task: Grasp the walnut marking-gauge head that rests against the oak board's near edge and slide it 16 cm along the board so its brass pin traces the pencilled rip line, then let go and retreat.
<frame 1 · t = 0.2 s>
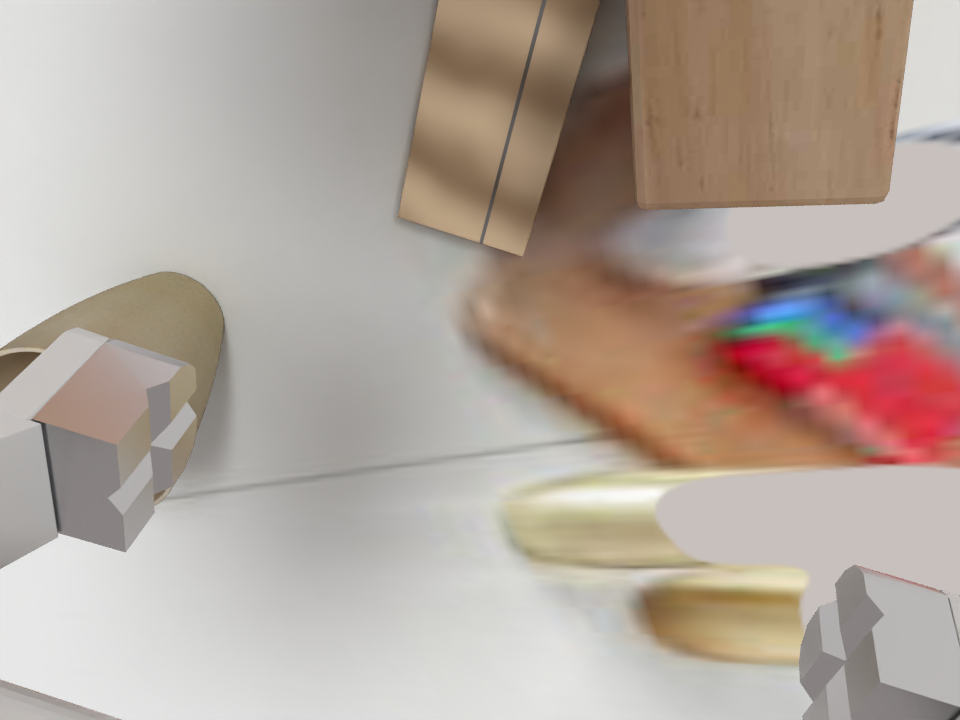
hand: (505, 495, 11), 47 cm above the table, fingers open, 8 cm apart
plant pot: (184, 310, 74), on the table
board: (507, 58, 56), on the table
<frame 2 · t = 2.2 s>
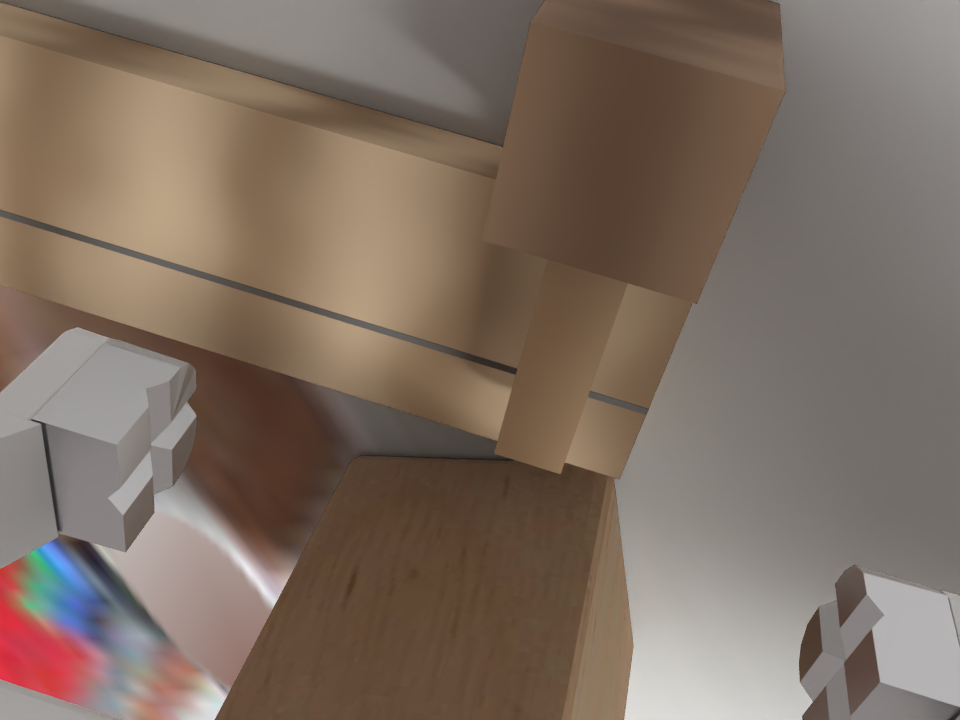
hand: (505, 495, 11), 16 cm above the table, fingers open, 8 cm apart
wooden block: (499, 546, 36), on the table
gauge: (647, 75, 23), on the table
board: (302, 225, 29), on the table
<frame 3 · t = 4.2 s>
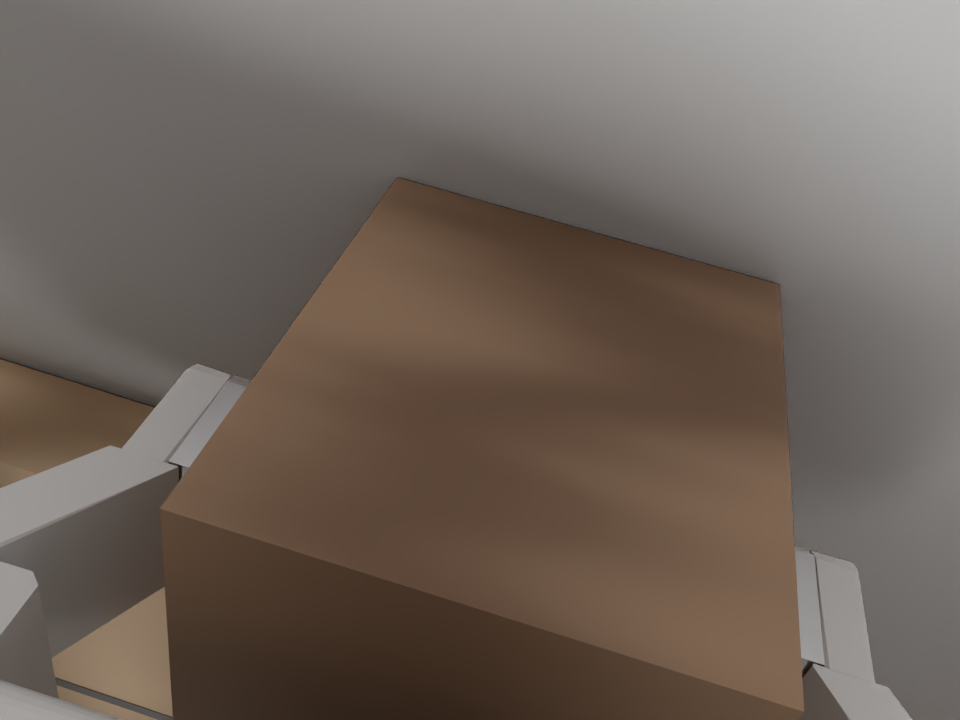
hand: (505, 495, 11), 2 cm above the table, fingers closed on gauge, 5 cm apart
gauge: (541, 379, 13), on the table, touching gripper
board: (45, 534, 18), on the table
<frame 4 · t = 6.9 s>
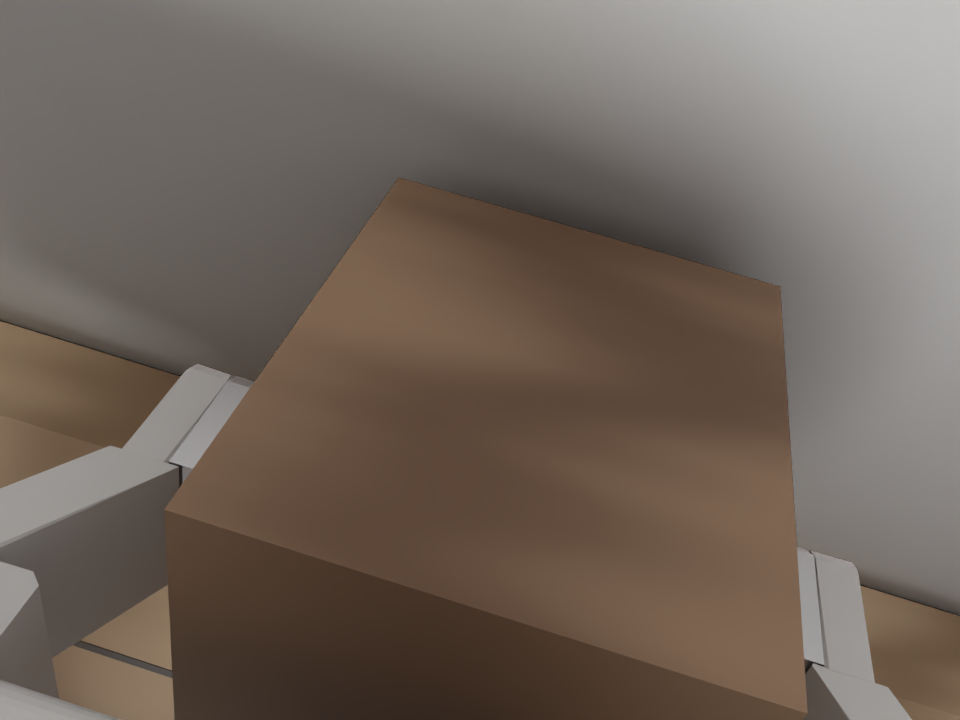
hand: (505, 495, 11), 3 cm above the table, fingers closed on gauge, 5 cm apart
gauge: (541, 379, 13), point 1 cm above the table, touching gripper
board: (466, 630, 18), on the table
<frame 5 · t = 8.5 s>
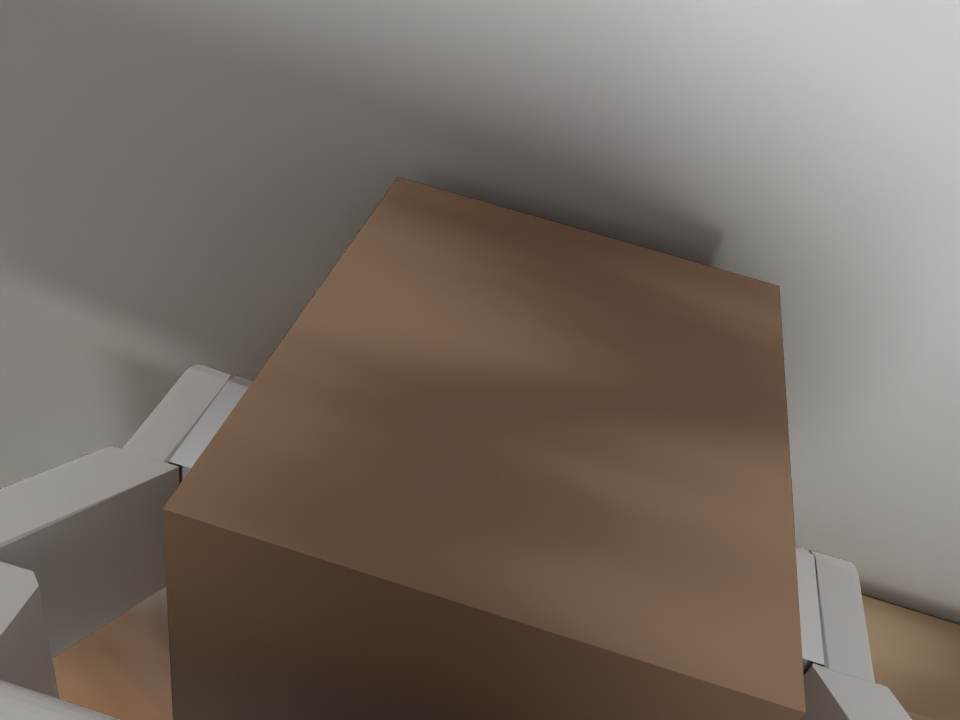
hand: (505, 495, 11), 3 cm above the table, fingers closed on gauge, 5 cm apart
gauge: (540, 379, 13), point 1 cm above the table, touching gripper
when the fingers open (3 cm above the table, at t = 9.5 s): gauge stays where it is, on the table.
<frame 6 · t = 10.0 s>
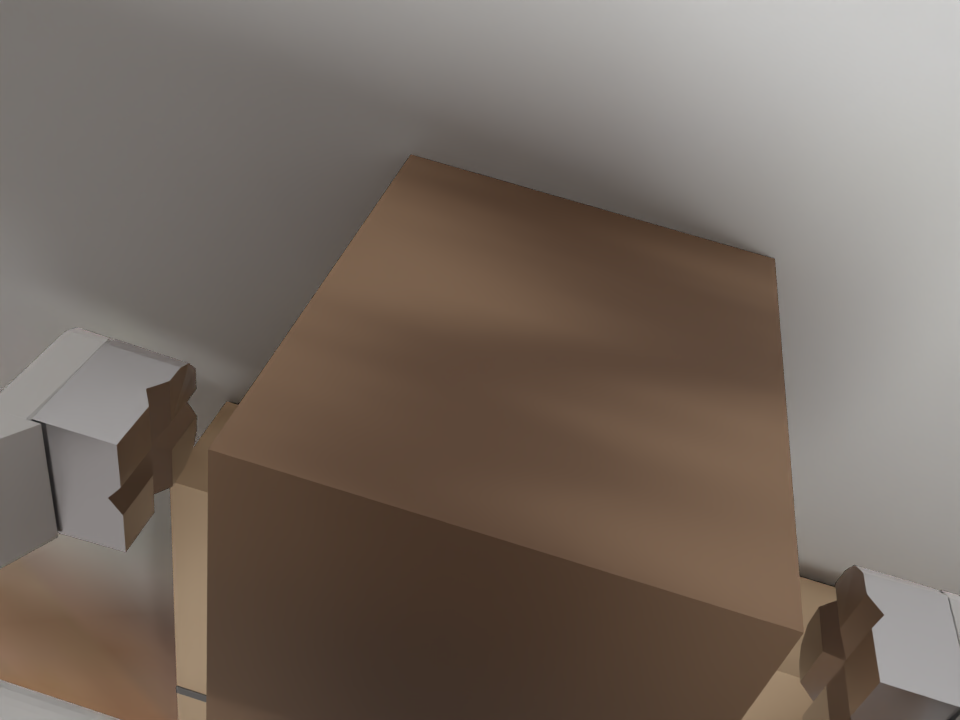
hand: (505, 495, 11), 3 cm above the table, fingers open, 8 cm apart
gauge: (546, 350, 14), on the table
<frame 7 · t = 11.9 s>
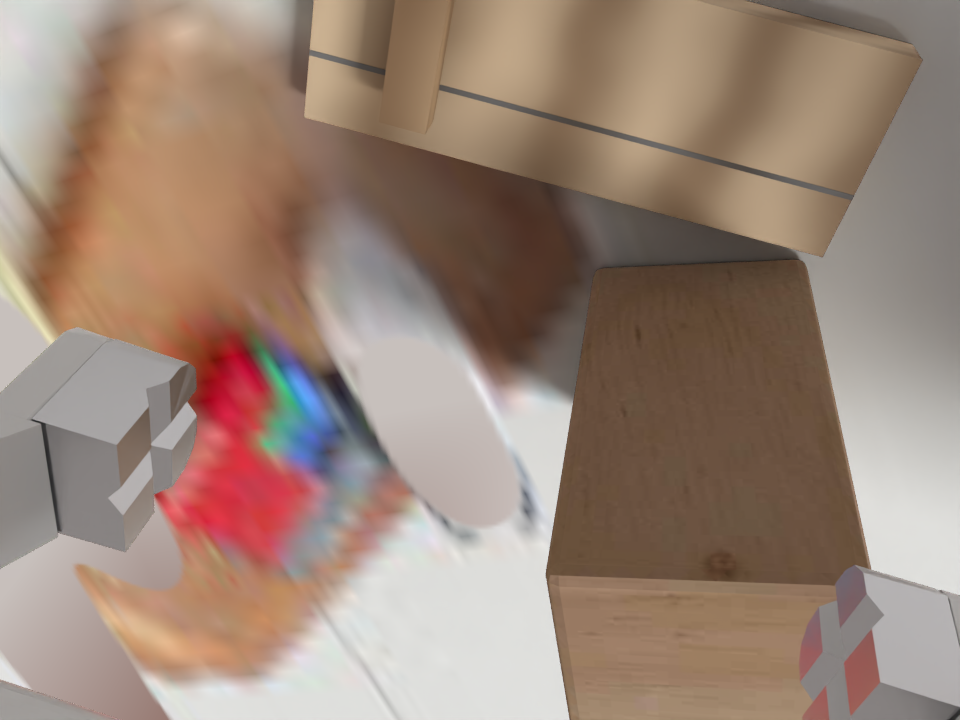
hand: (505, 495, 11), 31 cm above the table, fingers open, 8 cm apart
wooden block: (698, 342, 46), on the table
board: (592, 75, 39), on the table
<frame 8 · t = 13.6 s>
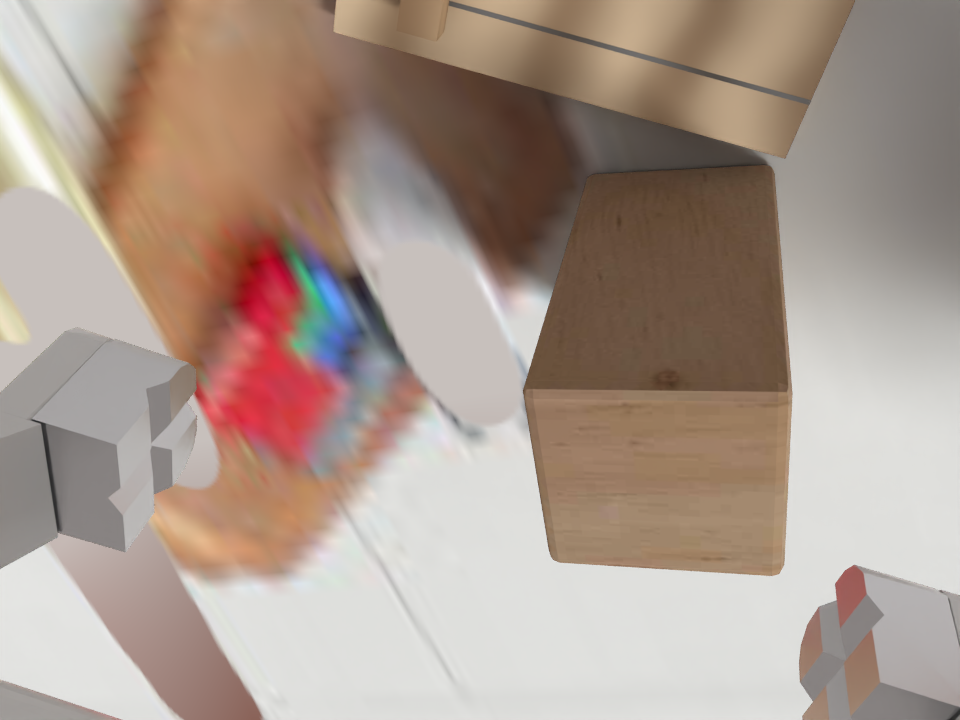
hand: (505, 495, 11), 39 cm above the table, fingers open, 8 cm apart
wooden block: (680, 245, 52), on the table
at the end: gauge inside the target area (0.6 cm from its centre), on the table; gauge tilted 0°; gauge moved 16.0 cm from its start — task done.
